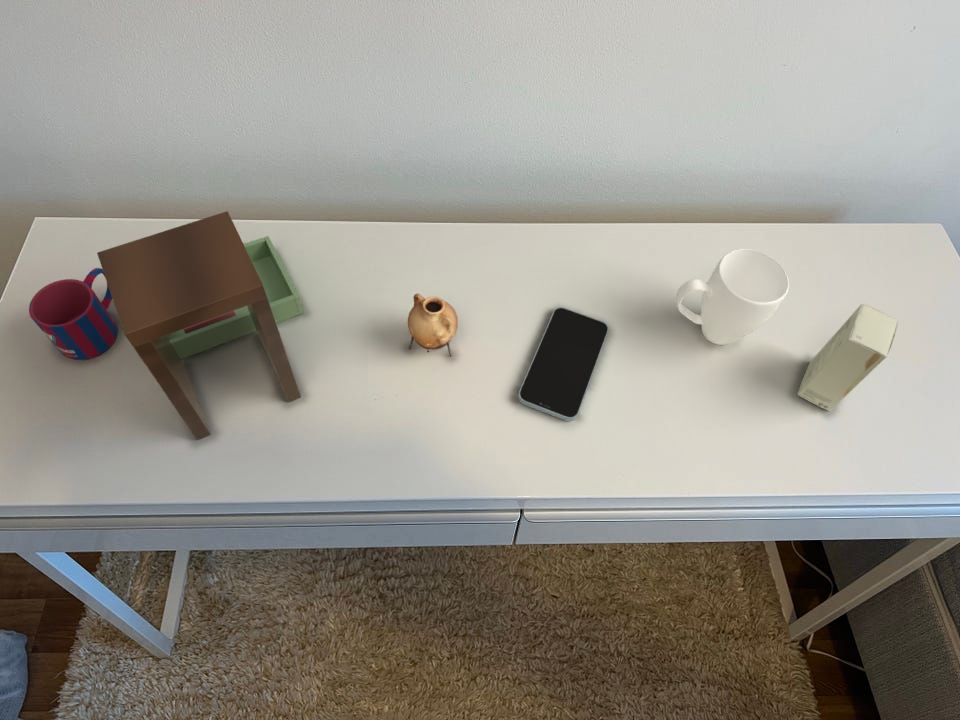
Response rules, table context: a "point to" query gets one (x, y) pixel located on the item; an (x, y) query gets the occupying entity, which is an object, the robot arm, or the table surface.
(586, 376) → the smartphone
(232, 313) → the eraser
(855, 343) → the cosmetic box
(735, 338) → the mug
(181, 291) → the walnut stand
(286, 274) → the tray
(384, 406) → the table surface
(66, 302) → the cup
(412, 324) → the pot
